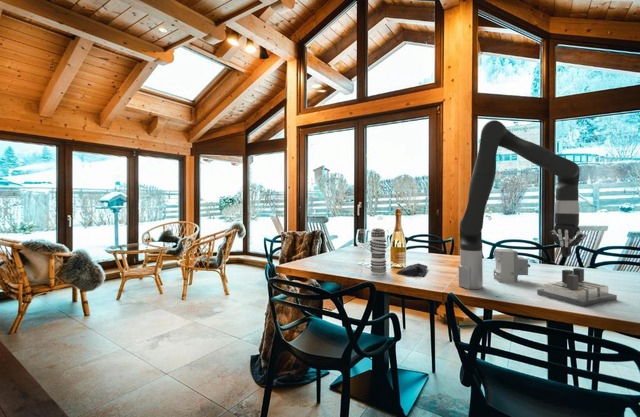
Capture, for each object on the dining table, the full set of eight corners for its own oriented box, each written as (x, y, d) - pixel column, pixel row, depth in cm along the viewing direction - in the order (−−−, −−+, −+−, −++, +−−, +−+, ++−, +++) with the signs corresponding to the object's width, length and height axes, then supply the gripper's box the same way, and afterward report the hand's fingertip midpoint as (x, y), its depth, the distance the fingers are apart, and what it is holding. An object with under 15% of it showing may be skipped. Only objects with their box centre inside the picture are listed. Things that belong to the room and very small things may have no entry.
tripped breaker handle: (573, 289, 119) (573, 276, 119) (566, 287, 121) (566, 274, 121) (578, 288, 120) (578, 275, 120) (571, 286, 122) (571, 274, 122)
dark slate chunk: (432, 270, 182) (431, 262, 182) (423, 278, 163) (423, 269, 163) (405, 267, 190) (405, 260, 189) (394, 275, 171) (394, 266, 171)
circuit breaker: (532, 283, 148) (531, 251, 148) (499, 282, 151) (498, 251, 151) (525, 279, 155) (524, 249, 155) (493, 278, 158) (493, 248, 158)
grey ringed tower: (390, 273, 174) (389, 228, 174) (378, 275, 169) (377, 229, 168) (378, 270, 182) (378, 227, 181) (366, 272, 176) (366, 228, 176)
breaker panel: (583, 307, 115) (583, 279, 114) (537, 294, 131) (537, 270, 130) (616, 300, 122) (616, 273, 121) (569, 288, 138) (568, 265, 137)
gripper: (542, 211, 127) (542, 254, 127) (579, 213, 114) (578, 260, 115) (555, 211, 129) (554, 253, 130) (592, 212, 117) (591, 258, 117)
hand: (566, 256), depth 122 cm, fingers closed
